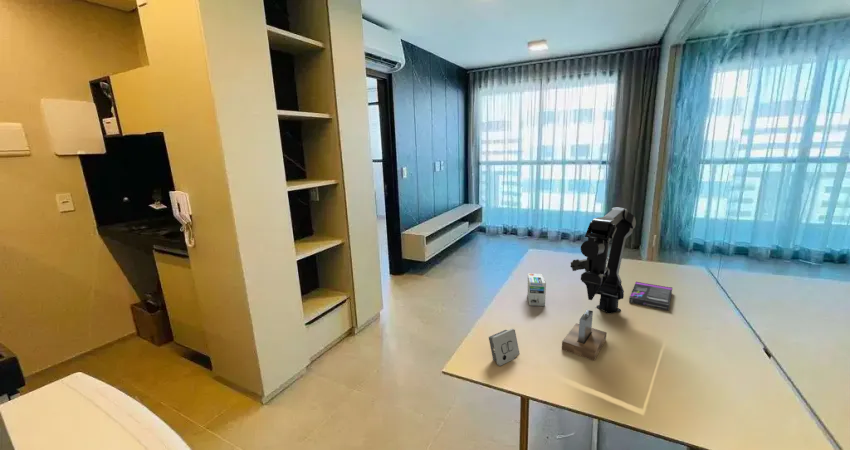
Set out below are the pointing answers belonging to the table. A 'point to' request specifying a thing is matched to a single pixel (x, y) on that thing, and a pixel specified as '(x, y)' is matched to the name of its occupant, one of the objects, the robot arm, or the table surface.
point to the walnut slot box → (591, 345)
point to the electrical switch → (504, 346)
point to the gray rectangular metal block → (585, 326)
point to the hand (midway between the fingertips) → (592, 296)
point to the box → (651, 295)
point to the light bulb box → (536, 289)
